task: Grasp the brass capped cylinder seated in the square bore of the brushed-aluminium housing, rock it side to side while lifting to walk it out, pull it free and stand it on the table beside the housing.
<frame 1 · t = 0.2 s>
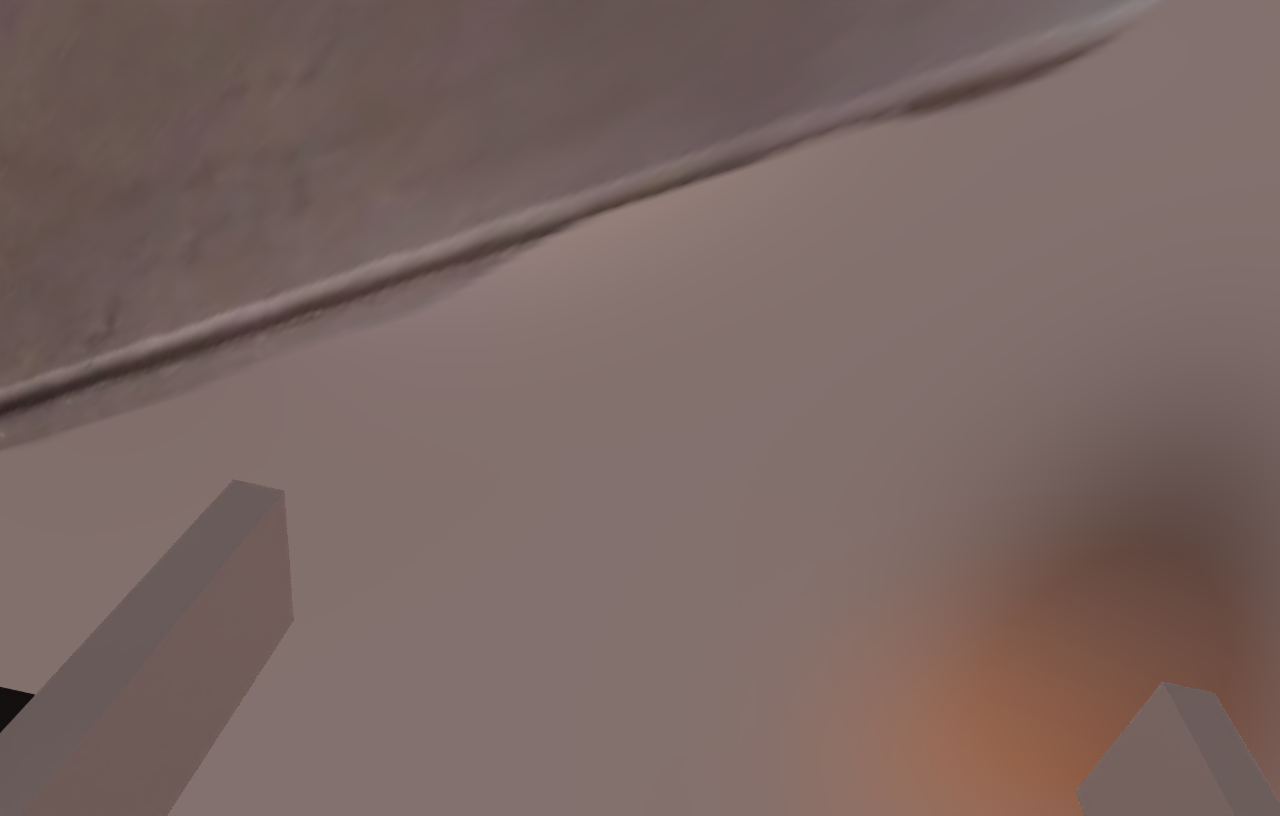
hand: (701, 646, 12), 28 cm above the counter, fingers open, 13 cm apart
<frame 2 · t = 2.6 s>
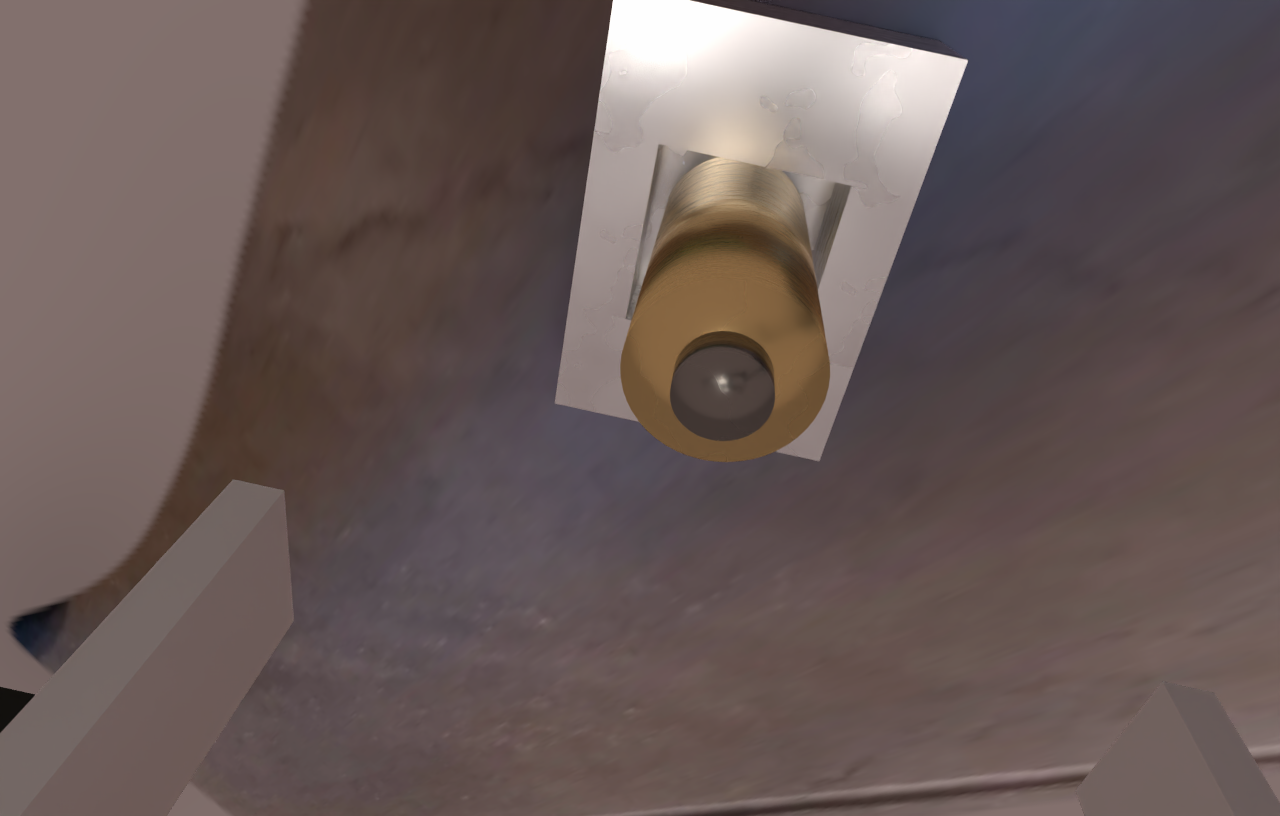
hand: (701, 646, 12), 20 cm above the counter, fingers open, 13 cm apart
brass capped cylinder: (733, 226, 29), point 1 cm above the counter, touching housing
housing: (734, 217, 30), on the counter
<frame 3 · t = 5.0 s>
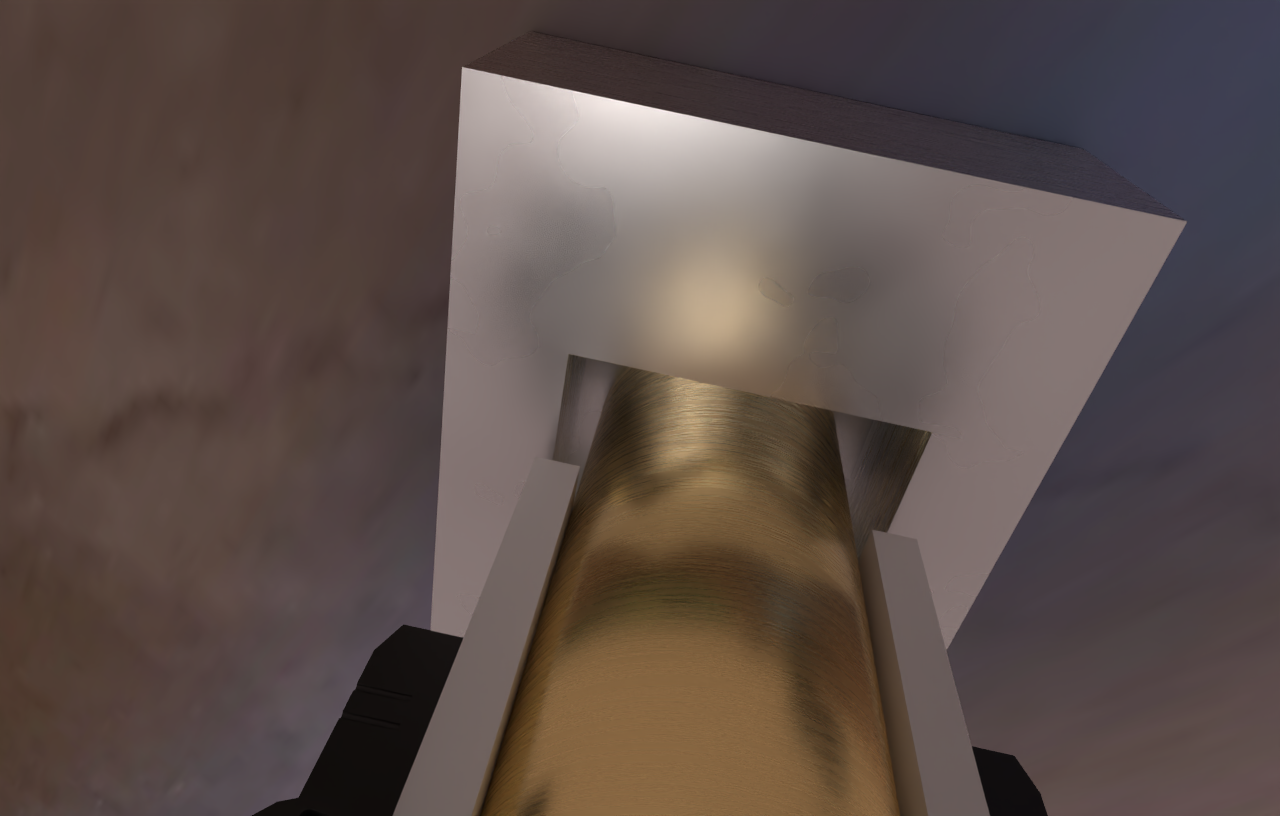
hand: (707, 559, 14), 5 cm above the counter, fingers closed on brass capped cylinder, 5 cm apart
brass capped cylinder: (715, 440, 17), point 1 cm above the counter, touching gripper, housing
housing: (717, 416, 18), on the counter
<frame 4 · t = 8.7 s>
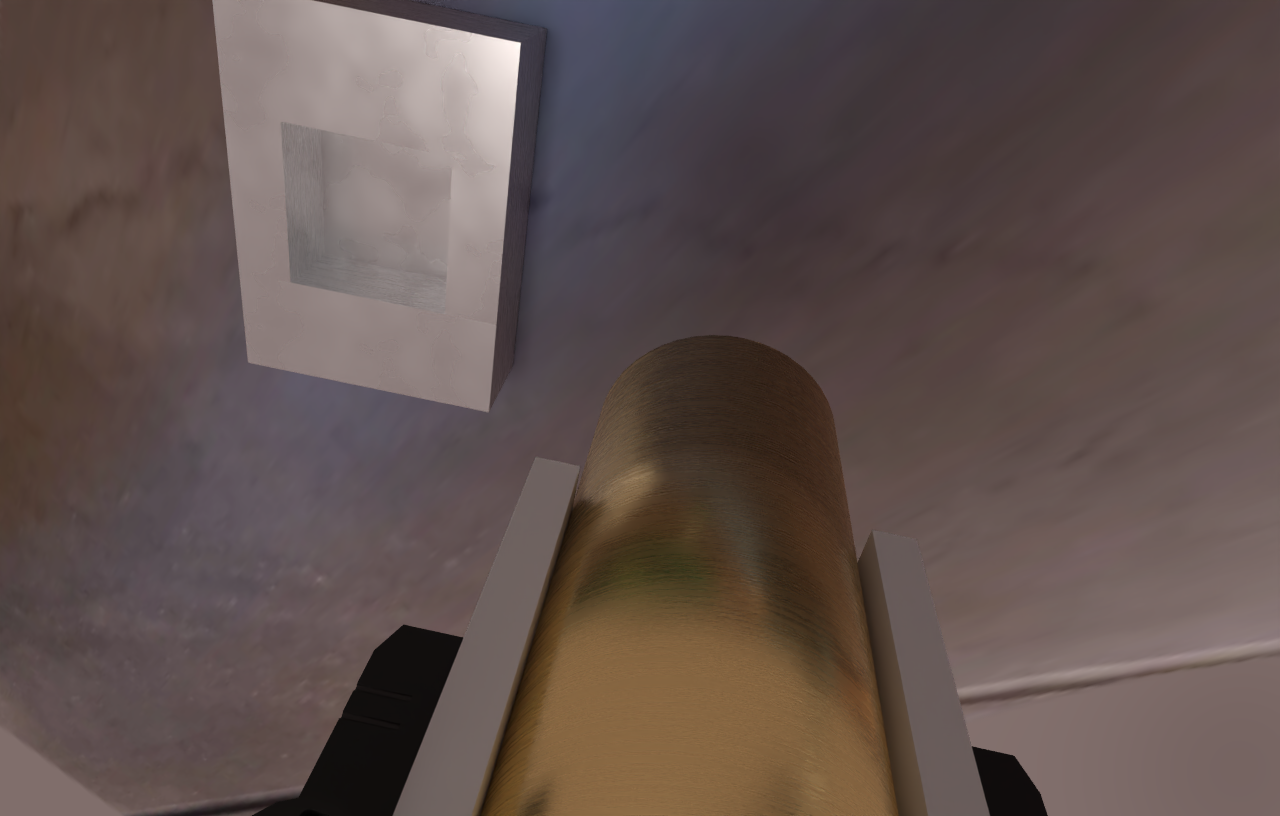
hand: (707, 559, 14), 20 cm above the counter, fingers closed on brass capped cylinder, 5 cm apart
brass capped cylinder: (715, 441, 17), point 17 cm above the counter, touching gripper
housing: (406, 191, 33), on the counter
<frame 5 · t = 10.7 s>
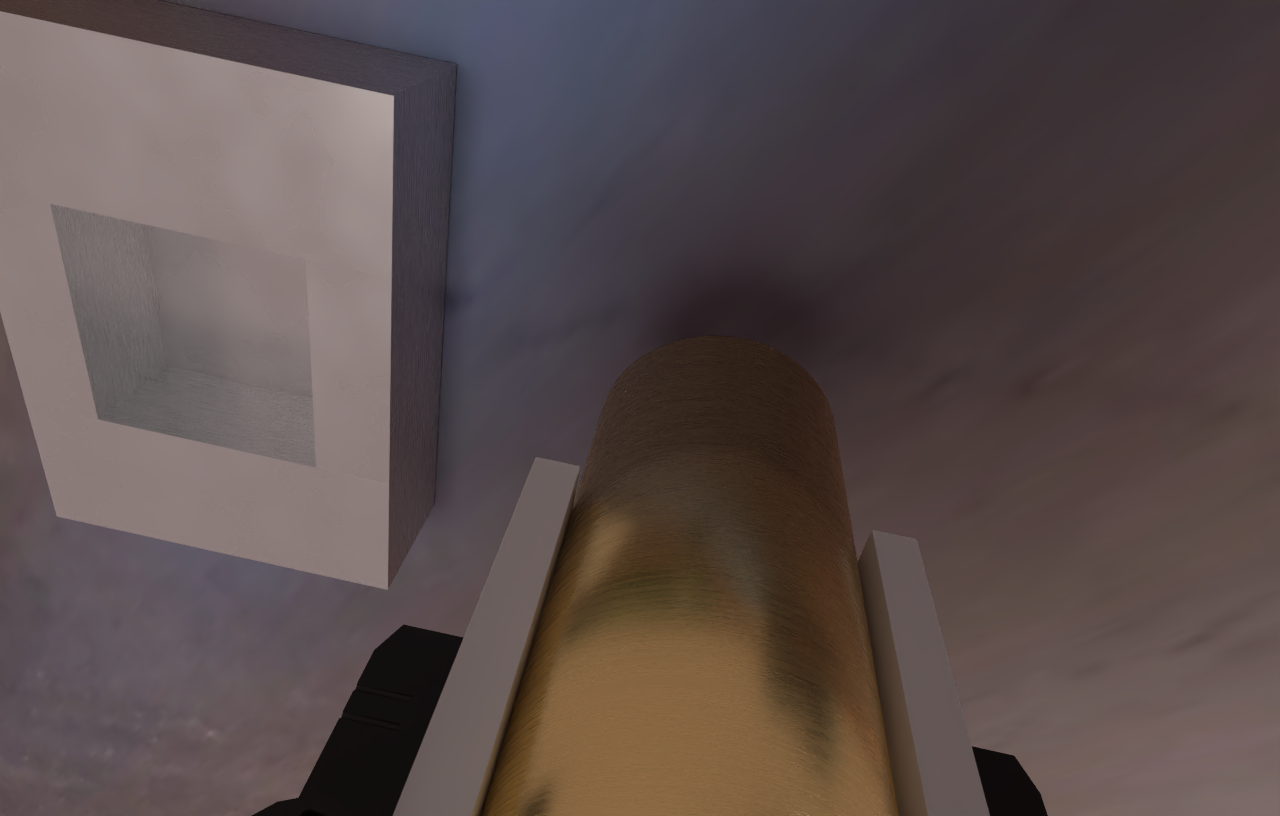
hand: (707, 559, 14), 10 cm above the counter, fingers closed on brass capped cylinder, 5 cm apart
brass capped cylinder: (715, 441, 17), point 6 cm above the counter, touching gripper
housing: (275, 283, 23), on the counter
when the fingers open (5 cm above the counter, at t = 12.3 s): brass capped cylinder drops 1 cm, on the counter.
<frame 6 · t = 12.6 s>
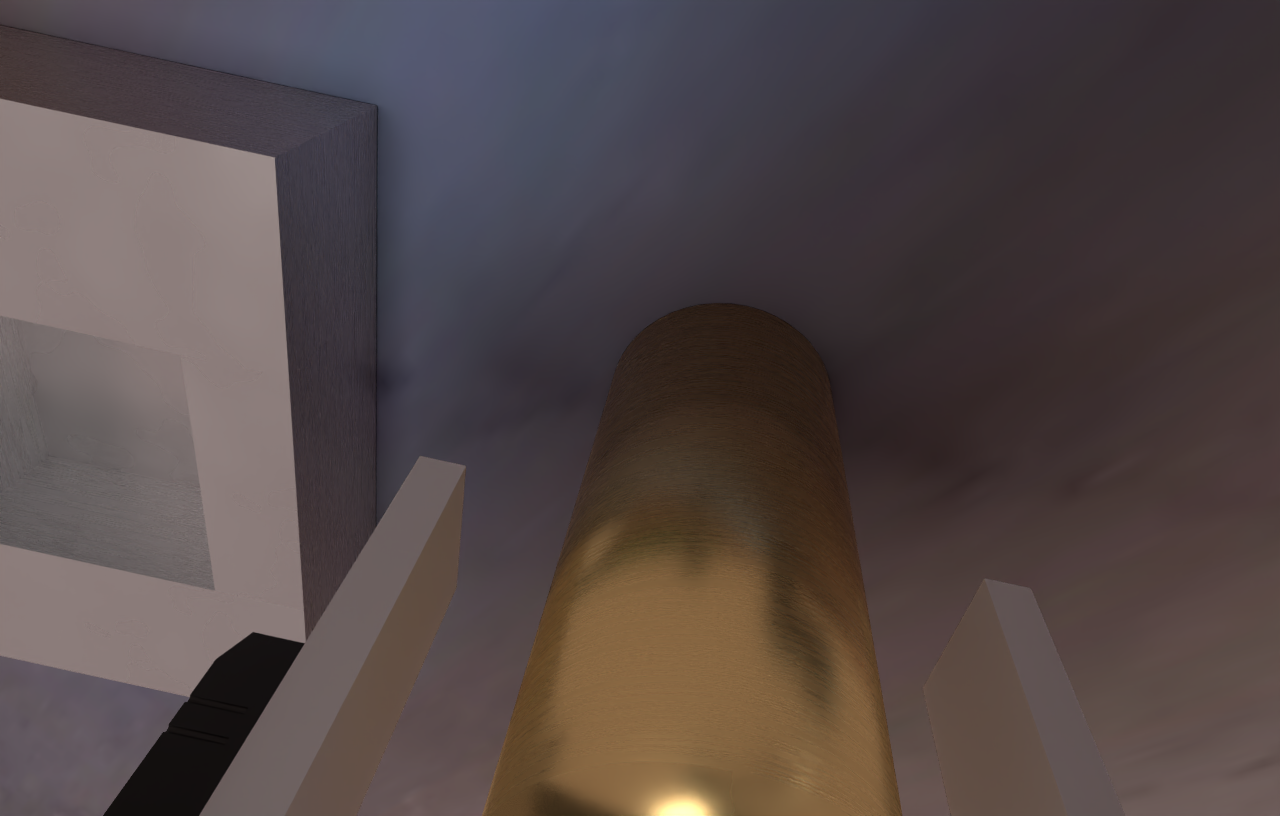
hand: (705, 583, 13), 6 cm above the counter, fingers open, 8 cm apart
brass capped cylinder: (719, 404, 18), on the counter
housing: (174, 359, 20), on the counter
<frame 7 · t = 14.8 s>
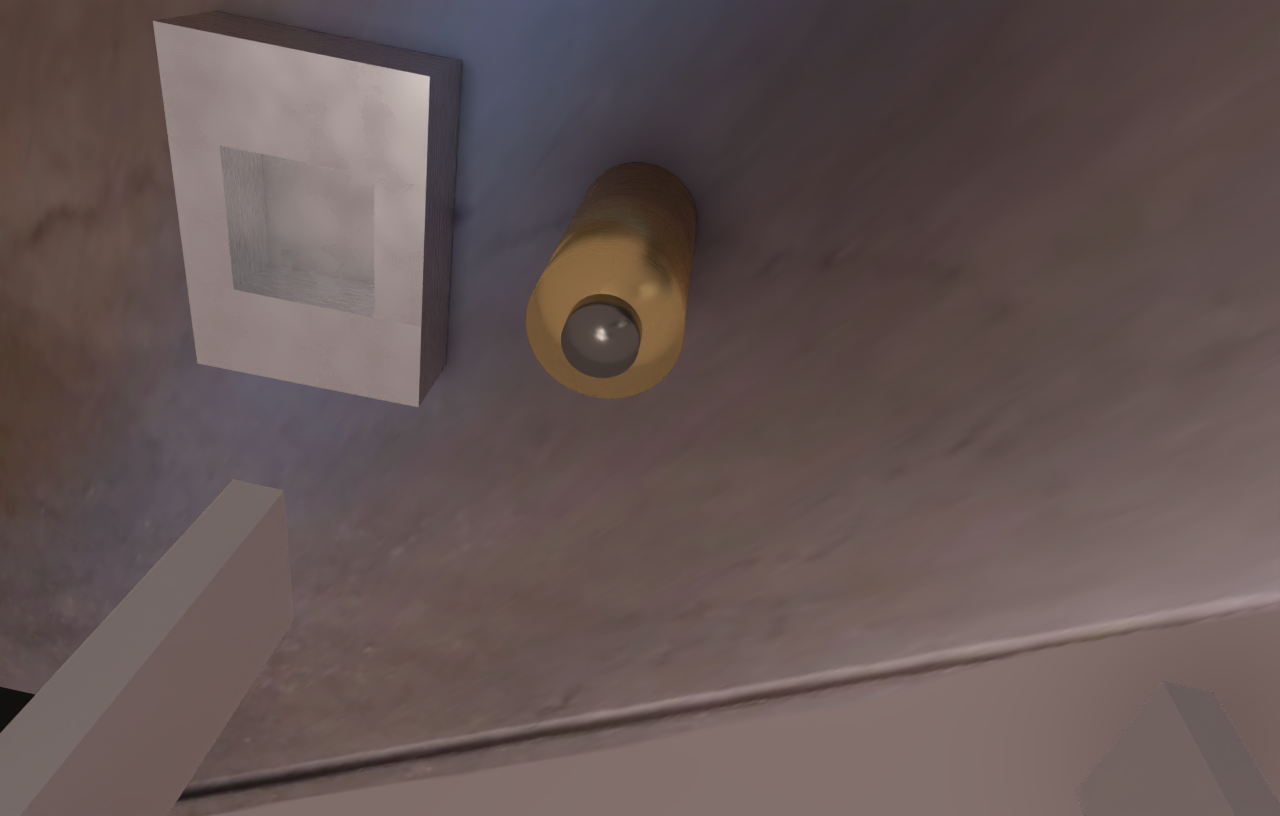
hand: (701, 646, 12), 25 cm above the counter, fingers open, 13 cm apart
brass capped cylinder: (638, 221, 35), on the counter
housing: (342, 206, 36), on the counter
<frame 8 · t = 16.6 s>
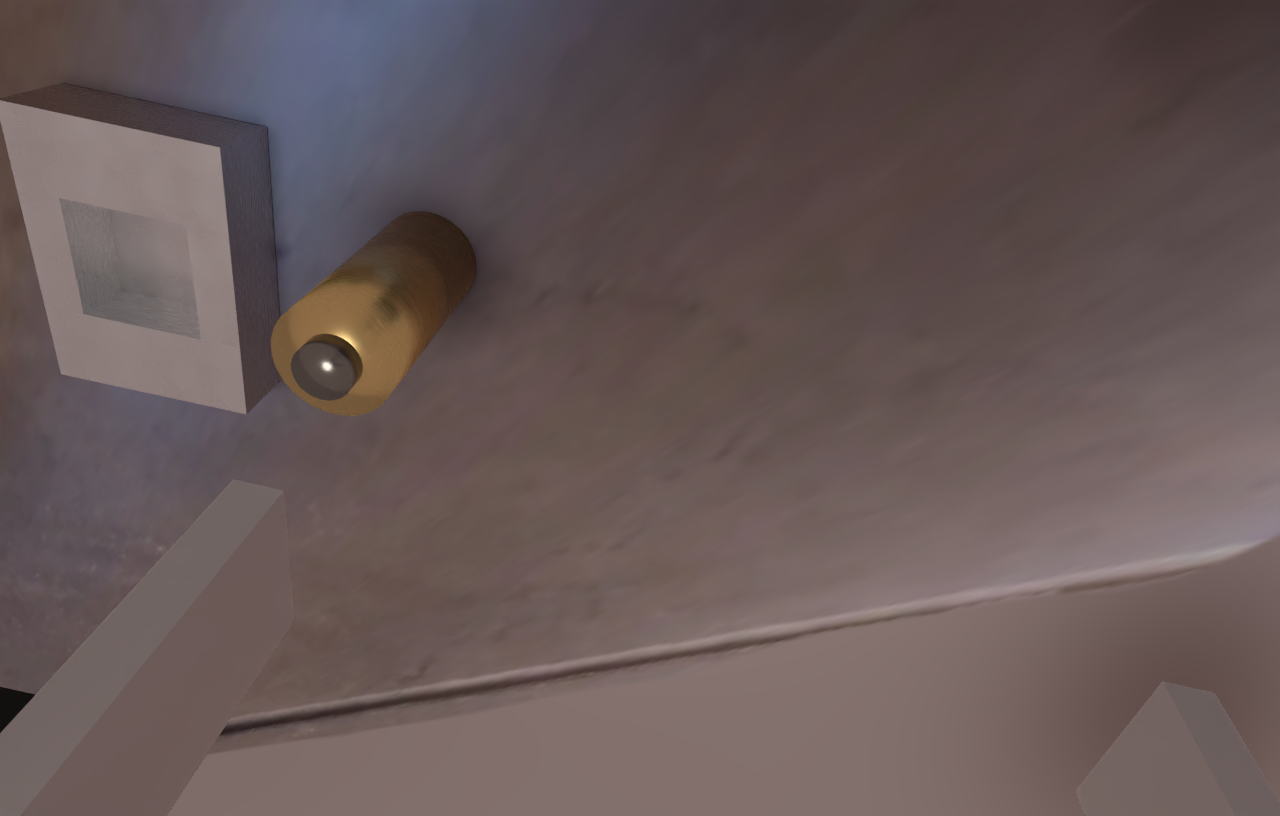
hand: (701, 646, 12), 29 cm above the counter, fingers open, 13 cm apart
brass capped cylinder: (428, 260, 41), on the counter
housing: (182, 243, 42), on the counter
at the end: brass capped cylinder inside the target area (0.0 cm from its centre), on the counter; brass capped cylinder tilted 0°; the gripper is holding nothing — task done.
